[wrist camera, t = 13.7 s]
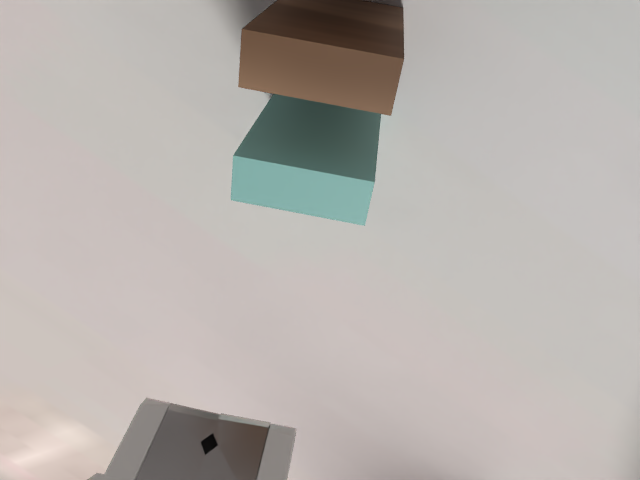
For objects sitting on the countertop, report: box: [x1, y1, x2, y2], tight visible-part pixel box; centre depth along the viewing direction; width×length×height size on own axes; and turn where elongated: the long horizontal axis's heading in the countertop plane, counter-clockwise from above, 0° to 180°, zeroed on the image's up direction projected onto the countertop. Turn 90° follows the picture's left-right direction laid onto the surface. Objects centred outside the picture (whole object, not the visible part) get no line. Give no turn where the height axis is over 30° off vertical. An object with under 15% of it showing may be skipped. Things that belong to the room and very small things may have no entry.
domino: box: [238, 0, 404, 116], centre depth 20 cm, size 2×5×9 cm, turn 82°
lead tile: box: [231, 94, 381, 226], centre depth 23 cm, size 2×5×9 cm, turn 82°
